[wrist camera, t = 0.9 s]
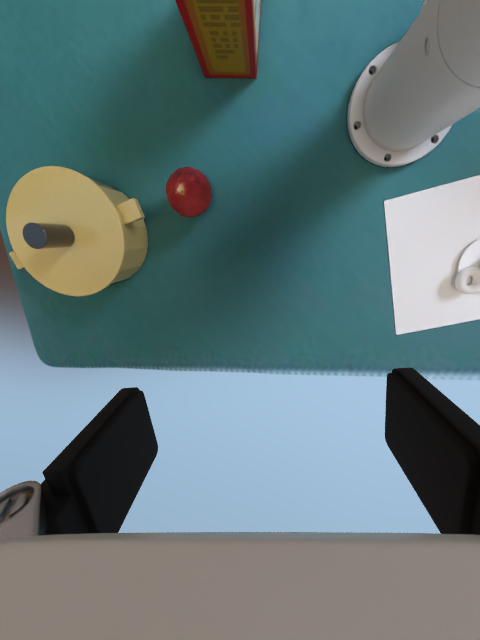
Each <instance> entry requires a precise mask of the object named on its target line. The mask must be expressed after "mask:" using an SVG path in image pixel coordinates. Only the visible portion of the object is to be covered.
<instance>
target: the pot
mask: <svg viewBox="0 0 480 640" xmlns="http://www.w3.org/2000/svg"><path fill="white" fill-rule="evenodd" d="M91 180H92V179H91ZM93 181H94V182H95V183H97V184H98V185H99V186H100V187H101V188H102V189H103V190H104V191H105V192H106V194H107V195H108V196H109V197H110V199H111V200H112V202H113V203H114V205H115V206H116V208H117V210H118V212H119V214H120V217H121V219H122V222H123V226H124V230H125V236H126V255H125V259H124V263H123V266H122V269H121V271H120V272H119V274H118V276H117V277H116V279H115V280H114V281H113V282H112V283H111V284H110V285H112V284H115V283H117V282H120V281H123V280H125V279H128V278H130V277H131V276H132V275H134V274H135V273H136V272H137V271H138V270H139V268H140V267H141V265H142V264H143V262H144V260H145V257H146V254H147V248H148V234H147V229H146V225H145V222H144V220H143V218H145V216H144V214H143V212H142V209H141V207H140V205H139V202H138V200H137V199H136V198H132V199H129V198H128V197H127V196H126V195H124V194H123V193H122V192H120V191H119V190H117V189H115V188H113V187H110V186H108V185H106V184H104V183H101V182H98V181H95V180H93ZM9 255H10V256H11V258H12V260H13V262H14V263H15V265H16V267H17V268H18V269H25V267H24V266H23V265H22V264H21V262H20V260H19V259H18V257H17V256H16V254H15V252H14V251H12V252H10V253H9Z"/></svg>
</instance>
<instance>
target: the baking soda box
mask: <svg viewBox="0 0 480 640" xmlns="http://www.w3.org/2000/svg"><path fill="white" fill-rule="evenodd" d="M175 1H176V3H177V6H178V8H179V11H180V14H181V16H182V19H183V21H184V24H185V27H186V29H187V32H188V34H189V37H190V40H191V42H192V45H193V47H194V50H195V53H196V55H197V58H198V60H199V63H200V66H201V68H202V71H203V73H204V76H205V78H254V79H256V76H257V61H258V45H259V30H260V14H261V0H175Z"/></svg>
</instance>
